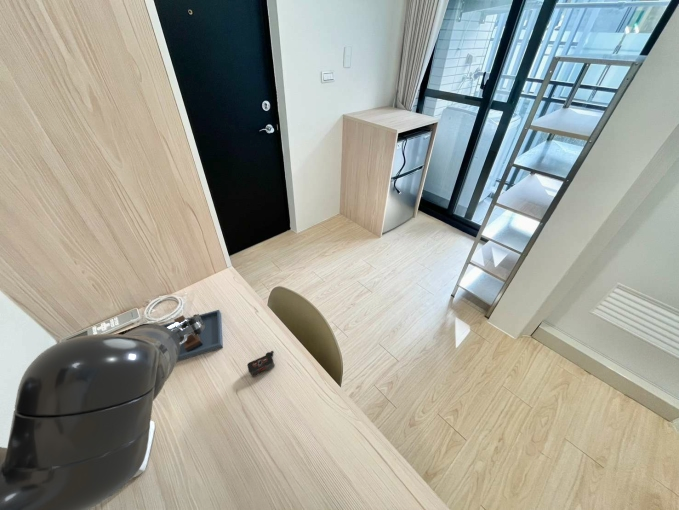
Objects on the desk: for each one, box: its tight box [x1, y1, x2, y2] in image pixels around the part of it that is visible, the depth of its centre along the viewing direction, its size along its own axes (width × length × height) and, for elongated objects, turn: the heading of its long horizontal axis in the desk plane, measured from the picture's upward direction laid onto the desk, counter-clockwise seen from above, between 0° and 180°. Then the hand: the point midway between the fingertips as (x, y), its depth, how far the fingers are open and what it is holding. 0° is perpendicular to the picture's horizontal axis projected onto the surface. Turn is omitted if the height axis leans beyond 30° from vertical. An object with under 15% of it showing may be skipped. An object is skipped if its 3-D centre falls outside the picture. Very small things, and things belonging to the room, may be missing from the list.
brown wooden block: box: [173, 314, 203, 352], centre depth 75 cm, size 8×4×7 cm, turn 38°
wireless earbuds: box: [246, 350, 276, 378], centre depth 72 cm, size 5×7×3 cm, turn 117°
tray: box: [160, 309, 224, 362], centre depth 78 cm, size 17×12×2 cm
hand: (161, 338), depth 47 cm, fingers open, 8 cm apart
